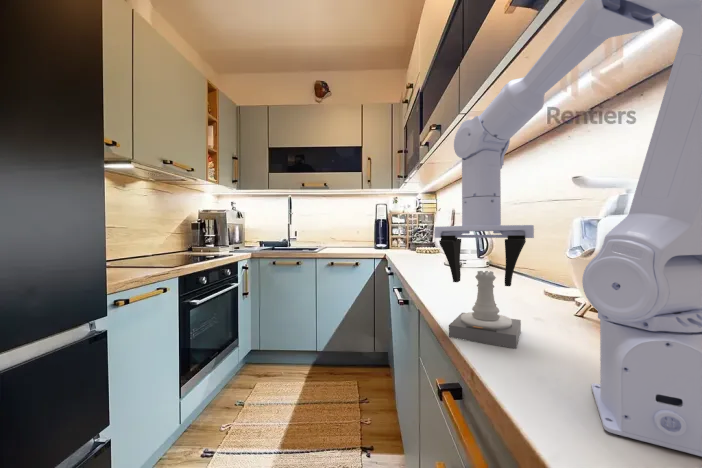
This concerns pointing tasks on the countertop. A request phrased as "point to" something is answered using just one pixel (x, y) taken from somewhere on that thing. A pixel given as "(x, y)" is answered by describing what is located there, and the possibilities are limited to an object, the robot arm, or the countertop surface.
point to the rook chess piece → (485, 298)
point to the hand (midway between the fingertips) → (481, 283)
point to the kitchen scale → (486, 330)
